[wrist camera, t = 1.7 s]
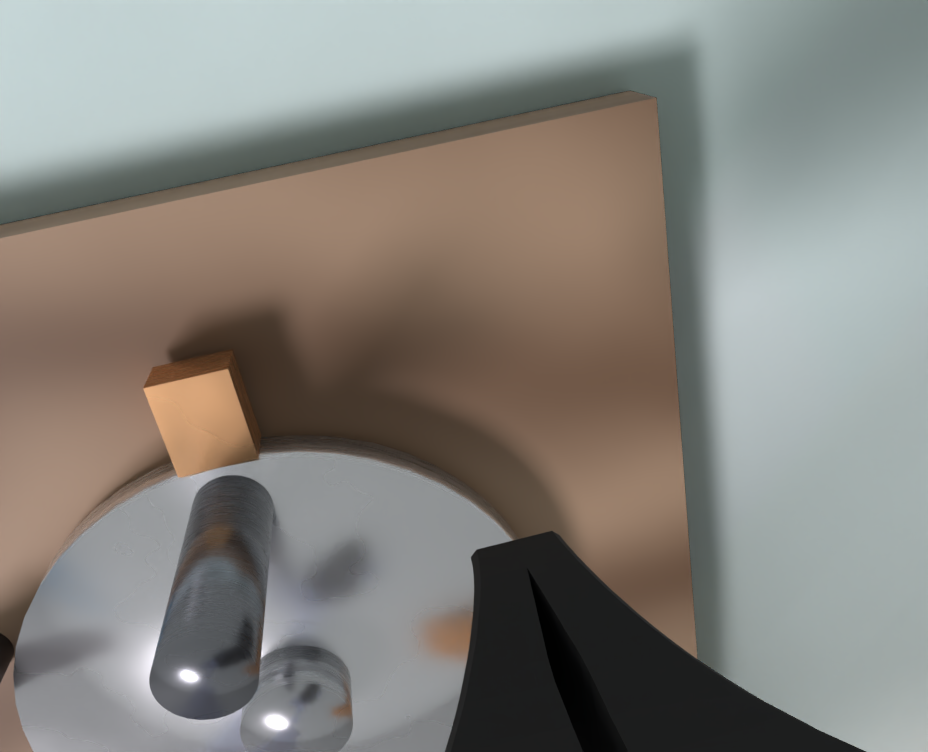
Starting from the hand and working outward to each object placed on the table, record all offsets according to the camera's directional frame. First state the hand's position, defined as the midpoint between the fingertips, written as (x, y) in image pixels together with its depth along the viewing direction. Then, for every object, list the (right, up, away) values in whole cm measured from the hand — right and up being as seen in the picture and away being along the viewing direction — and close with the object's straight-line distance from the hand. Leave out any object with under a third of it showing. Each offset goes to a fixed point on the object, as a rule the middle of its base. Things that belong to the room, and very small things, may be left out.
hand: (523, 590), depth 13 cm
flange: (-5, -3, +6) cm, 9 cm away
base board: (-5, -3, +8) cm, 10 cm away
